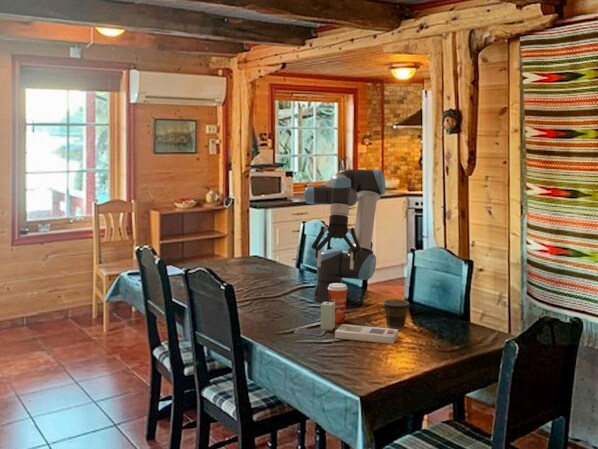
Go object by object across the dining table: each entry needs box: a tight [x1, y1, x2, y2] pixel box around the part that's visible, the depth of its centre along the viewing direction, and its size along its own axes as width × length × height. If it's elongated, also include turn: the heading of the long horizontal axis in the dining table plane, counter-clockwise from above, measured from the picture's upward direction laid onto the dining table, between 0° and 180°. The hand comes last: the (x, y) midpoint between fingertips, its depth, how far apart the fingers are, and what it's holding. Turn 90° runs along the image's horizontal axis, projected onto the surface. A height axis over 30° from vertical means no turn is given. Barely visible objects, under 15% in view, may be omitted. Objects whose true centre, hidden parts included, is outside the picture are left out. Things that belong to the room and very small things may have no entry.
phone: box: [293, 327, 327, 337], centre depth 243 cm, size 6×11×1 cm, turn 71°
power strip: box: [334, 323, 399, 345], centre depth 237 cm, size 10×22×3 cm, turn 71°
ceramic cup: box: [377, 298, 410, 330], centre depth 248 cm, size 13×10×10 cm
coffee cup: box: [328, 282, 349, 324], centre depth 257 cm, size 8×8×15 cm
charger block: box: [320, 302, 336, 331], centre depth 248 cm, size 4×4×10 cm
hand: (334, 268), depth 252 cm, fingers open, 13 cm apart
